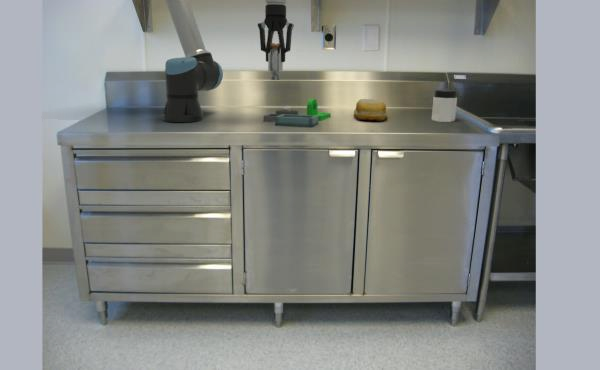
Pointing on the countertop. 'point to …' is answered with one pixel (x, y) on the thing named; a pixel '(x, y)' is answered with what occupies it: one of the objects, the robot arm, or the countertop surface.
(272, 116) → the grey metal square frame
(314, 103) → the mechanical part
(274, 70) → the pin
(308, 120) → the tray
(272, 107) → the countertop surface
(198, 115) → the robot arm
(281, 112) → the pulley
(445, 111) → the jar
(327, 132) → the countertop surface
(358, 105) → the bread
